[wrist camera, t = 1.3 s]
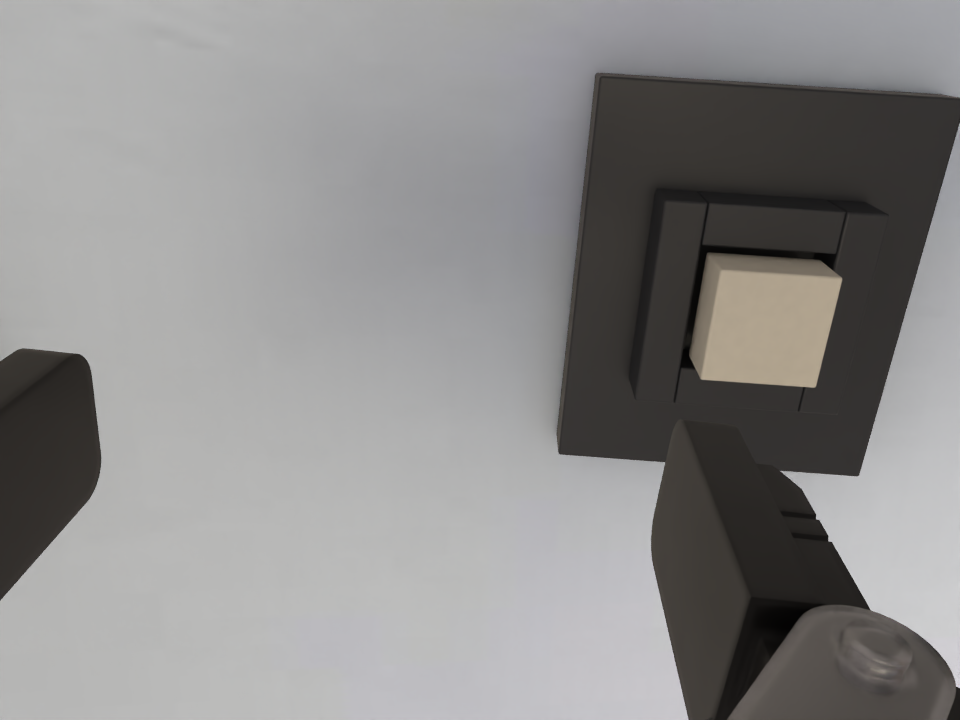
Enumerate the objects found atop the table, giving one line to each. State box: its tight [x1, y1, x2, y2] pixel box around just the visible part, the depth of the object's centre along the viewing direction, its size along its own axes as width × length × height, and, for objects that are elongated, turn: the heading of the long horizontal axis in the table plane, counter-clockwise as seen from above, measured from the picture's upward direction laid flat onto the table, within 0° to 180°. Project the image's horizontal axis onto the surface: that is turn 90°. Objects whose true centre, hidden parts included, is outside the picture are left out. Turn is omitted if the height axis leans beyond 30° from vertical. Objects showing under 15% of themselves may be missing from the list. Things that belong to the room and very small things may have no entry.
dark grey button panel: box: [557, 73, 960, 476], centre depth 24 cm, size 12×10×3 cm
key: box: [689, 252, 842, 388], centre depth 22 cm, size 3×3×2 cm
